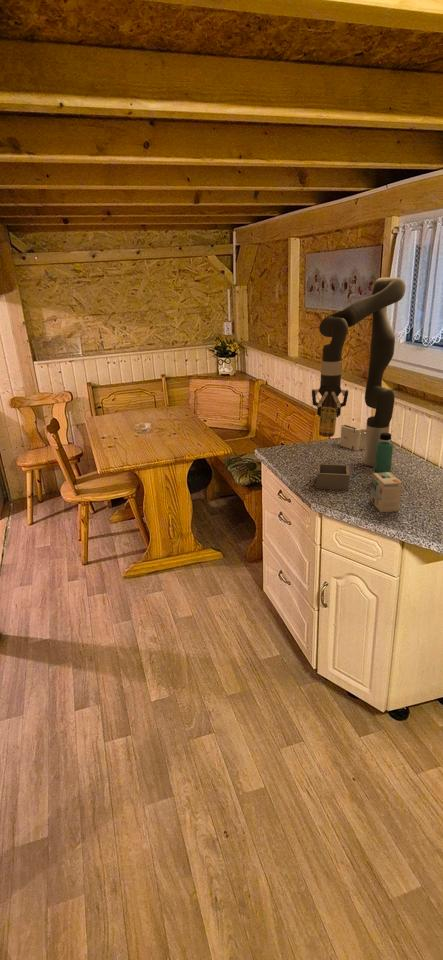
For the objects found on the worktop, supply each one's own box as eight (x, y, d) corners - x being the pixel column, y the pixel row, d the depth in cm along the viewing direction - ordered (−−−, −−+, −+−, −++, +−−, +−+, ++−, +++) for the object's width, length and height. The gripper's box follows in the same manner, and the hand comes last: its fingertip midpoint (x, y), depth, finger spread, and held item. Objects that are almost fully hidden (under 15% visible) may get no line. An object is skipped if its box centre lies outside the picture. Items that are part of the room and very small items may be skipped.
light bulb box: (369, 500, 186) (372, 472, 182) (387, 499, 186) (390, 471, 182) (380, 512, 176) (383, 483, 172) (399, 511, 176) (402, 482, 172)
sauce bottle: (317, 436, 199) (319, 385, 192) (320, 432, 204) (323, 382, 197) (333, 438, 196) (336, 386, 189) (337, 434, 202) (340, 383, 195)
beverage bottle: (390, 480, 204) (395, 431, 196) (389, 486, 198) (394, 436, 191) (373, 478, 206) (377, 430, 198) (372, 484, 200) (376, 435, 193)
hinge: (368, 449, 240) (370, 429, 237) (362, 452, 237) (363, 431, 233) (343, 444, 250) (344, 424, 246) (336, 446, 246) (337, 426, 243)
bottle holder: (347, 478, 206) (348, 464, 204) (348, 489, 195) (349, 475, 193) (317, 477, 208) (317, 463, 206) (316, 488, 197) (317, 473, 195)
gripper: (350, 371, 194) (347, 414, 200) (312, 371, 197) (310, 413, 203) (350, 374, 187) (347, 419, 193) (311, 374, 190) (309, 418, 196)
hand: (328, 416), depth 198 cm, fingers closed on sauce bottle, 6 cm apart
